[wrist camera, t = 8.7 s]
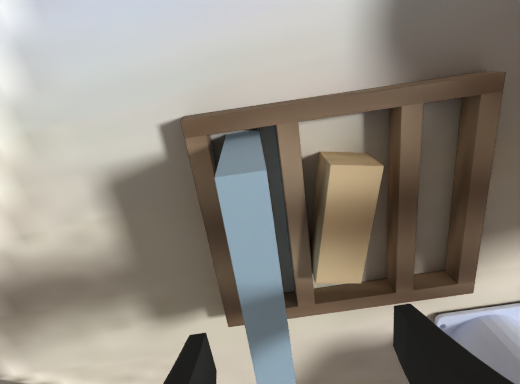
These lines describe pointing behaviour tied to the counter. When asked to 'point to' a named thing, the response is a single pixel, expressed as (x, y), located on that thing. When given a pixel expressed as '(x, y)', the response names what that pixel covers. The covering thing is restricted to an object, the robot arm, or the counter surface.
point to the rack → (399, 189)
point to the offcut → (343, 215)
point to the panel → (255, 255)
